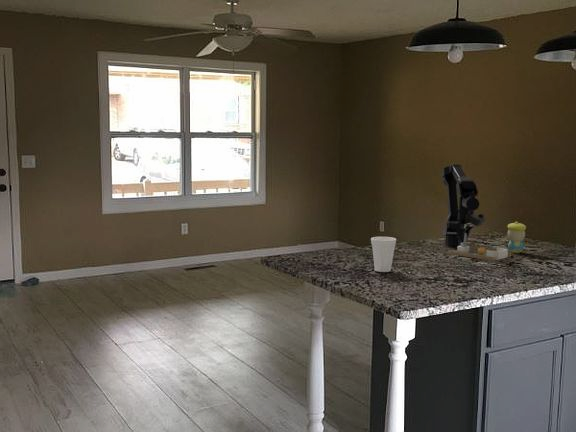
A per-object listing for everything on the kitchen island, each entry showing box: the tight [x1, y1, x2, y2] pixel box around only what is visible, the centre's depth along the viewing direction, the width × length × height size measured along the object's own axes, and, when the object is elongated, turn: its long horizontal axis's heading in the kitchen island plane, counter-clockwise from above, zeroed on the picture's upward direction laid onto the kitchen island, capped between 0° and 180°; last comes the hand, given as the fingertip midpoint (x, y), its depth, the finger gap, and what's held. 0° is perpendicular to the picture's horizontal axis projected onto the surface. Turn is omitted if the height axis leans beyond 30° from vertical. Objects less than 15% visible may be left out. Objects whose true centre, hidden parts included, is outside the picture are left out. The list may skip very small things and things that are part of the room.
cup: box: [370, 236, 397, 273], centre depth 247 cm, size 10×10×13 cm
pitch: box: [447, 246, 512, 262], centre depth 279 cm, size 22×16×2 cm
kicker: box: [456, 233, 470, 252], centre depth 284 cm, size 4×4×8 cm
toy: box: [507, 221, 527, 254], centre depth 285 cm, size 8×9×15 cm
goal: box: [486, 247, 509, 261], centre depth 273 cm, size 5×10×4 cm, turn 134°
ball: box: [477, 246, 486, 255], centre depth 278 cm, size 4×4×4 cm
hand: (463, 242), depth 284 cm, fingers closed on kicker, 2 cm apart
